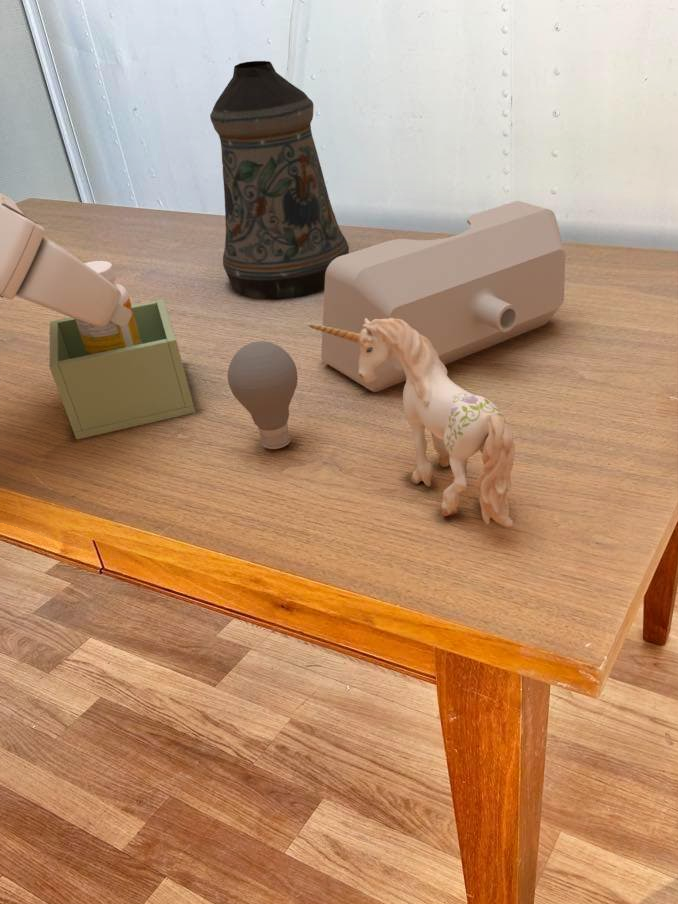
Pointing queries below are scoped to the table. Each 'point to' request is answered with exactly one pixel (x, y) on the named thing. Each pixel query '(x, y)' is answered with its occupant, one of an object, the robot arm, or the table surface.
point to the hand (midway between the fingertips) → (108, 310)
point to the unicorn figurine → (441, 415)
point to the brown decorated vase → (273, 188)
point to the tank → (449, 288)
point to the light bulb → (265, 388)
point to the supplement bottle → (111, 334)
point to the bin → (120, 375)
